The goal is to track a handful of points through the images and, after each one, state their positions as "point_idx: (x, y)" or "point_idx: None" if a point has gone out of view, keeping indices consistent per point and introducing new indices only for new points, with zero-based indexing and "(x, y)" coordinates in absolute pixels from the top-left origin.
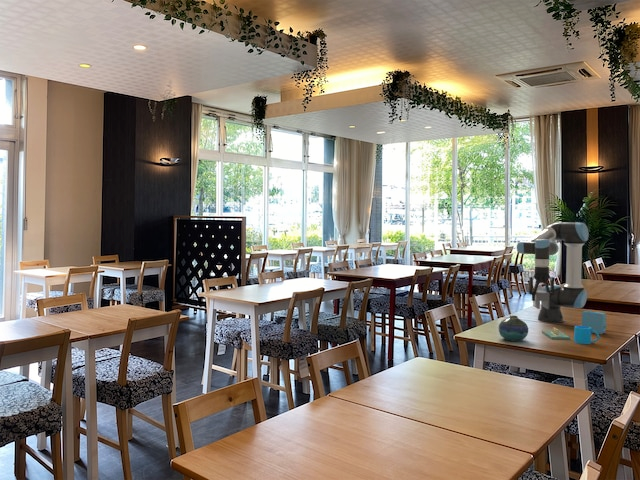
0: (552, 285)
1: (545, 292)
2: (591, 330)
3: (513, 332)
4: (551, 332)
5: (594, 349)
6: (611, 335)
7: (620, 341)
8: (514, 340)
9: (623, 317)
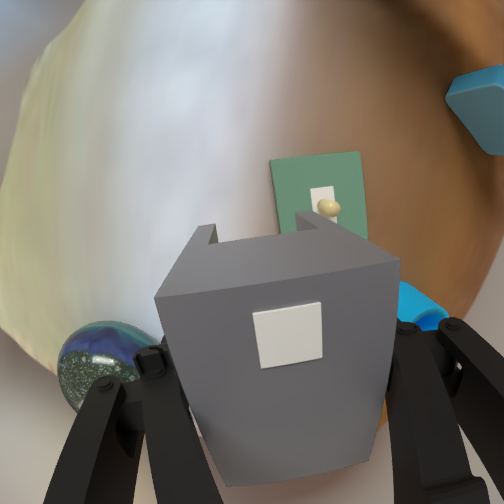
0: (491, 459)
1: (340, 441)
2: None
3: None
4: (312, 201)
5: None
6: (499, 165)
7: (492, 254)
8: None
9: None
